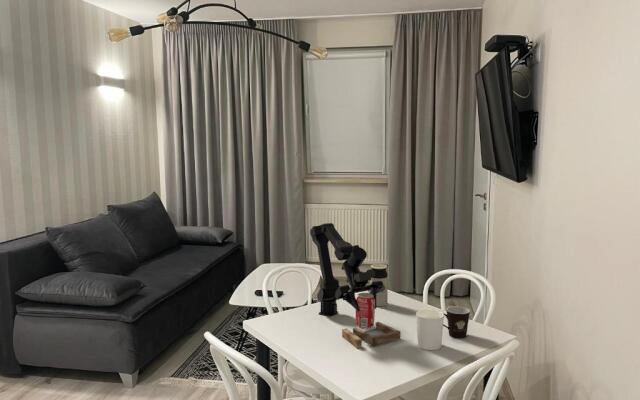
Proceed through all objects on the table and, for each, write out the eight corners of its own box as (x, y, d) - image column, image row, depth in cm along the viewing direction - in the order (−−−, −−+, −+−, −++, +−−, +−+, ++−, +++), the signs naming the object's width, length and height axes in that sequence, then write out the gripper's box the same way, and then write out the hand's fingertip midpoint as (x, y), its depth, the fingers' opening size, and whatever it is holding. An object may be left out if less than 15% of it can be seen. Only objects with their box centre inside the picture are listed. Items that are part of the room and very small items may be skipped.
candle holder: (427, 353, 170) (428, 320, 168) (410, 343, 178) (410, 312, 177) (449, 348, 174) (449, 315, 173) (431, 338, 183) (431, 307, 181)
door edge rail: (361, 347, 175) (361, 339, 175) (356, 348, 175) (356, 340, 174) (346, 335, 186) (346, 328, 186) (342, 336, 185) (342, 329, 185)
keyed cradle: (352, 335, 186) (352, 328, 186) (378, 328, 193) (378, 321, 193) (374, 346, 176) (374, 339, 176) (400, 338, 183) (400, 331, 182)
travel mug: (370, 301, 228) (370, 263, 226) (387, 301, 227) (387, 264, 225) (370, 306, 220) (370, 268, 218) (387, 307, 219) (387, 268, 218)
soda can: (370, 322, 186) (371, 291, 184) (376, 328, 179) (378, 297, 178) (352, 323, 184) (353, 292, 183) (358, 330, 177) (359, 298, 176)
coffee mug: (470, 333, 188) (471, 308, 187) (467, 341, 180) (468, 315, 179) (440, 328, 193) (440, 304, 192) (436, 336, 185) (436, 310, 184)
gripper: (338, 265, 178) (352, 303, 170) (381, 259, 186) (397, 295, 177) (329, 280, 186) (342, 317, 178) (371, 274, 194) (385, 309, 185)
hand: (367, 309), depth 179 cm, fingers closed on soda can, 7 cm apart
